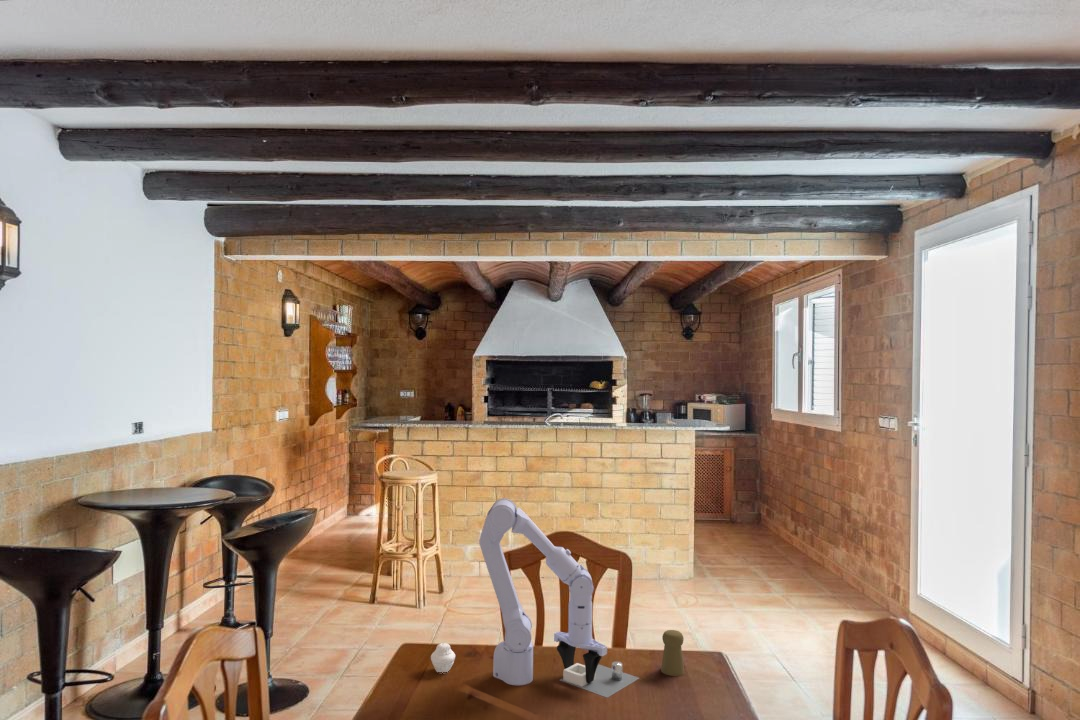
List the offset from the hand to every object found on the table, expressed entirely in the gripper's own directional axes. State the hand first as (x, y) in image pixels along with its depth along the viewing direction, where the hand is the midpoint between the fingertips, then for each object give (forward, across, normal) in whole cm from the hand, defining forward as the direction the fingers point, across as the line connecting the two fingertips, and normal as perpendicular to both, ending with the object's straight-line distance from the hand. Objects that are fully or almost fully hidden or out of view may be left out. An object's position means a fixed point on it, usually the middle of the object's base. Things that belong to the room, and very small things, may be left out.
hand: (579, 677), depth 171 cm
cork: (+2, -14, -20) cm, 24 cm away
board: (+2, -4, -4) cm, 5 cm away
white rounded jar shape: (+2, +30, +16) cm, 35 cm away
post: (0, -6, -6) cm, 9 cm away
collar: (0, 0, 0) cm, 0 cm away
